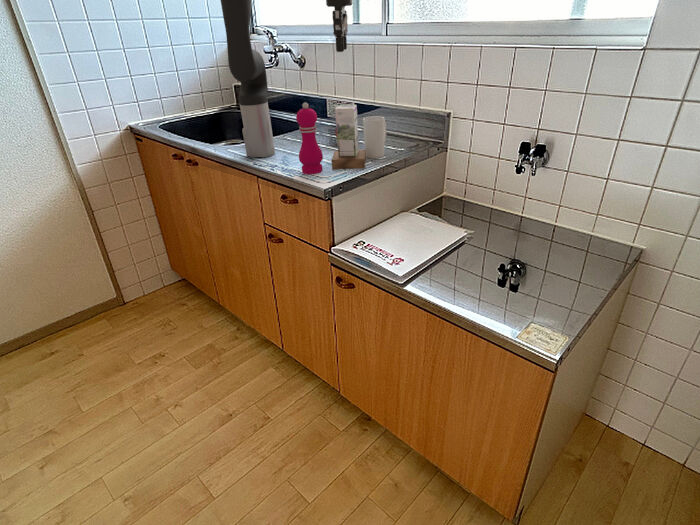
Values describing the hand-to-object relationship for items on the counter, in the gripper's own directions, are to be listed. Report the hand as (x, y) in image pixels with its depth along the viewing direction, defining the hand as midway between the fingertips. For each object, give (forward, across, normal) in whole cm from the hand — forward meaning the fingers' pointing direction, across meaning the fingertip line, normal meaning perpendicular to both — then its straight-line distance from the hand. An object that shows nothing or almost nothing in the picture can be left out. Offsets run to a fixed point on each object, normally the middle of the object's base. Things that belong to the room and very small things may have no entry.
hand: (341, 50), depth 128 cm
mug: (+32, +1, +10) cm, 33 cm away
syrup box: (+29, +11, +2) cm, 31 cm away
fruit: (+32, -15, -2) cm, 35 cm away
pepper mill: (+32, +17, -9) cm, 37 cm away
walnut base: (+32, +11, +2) cm, 33 cm away
